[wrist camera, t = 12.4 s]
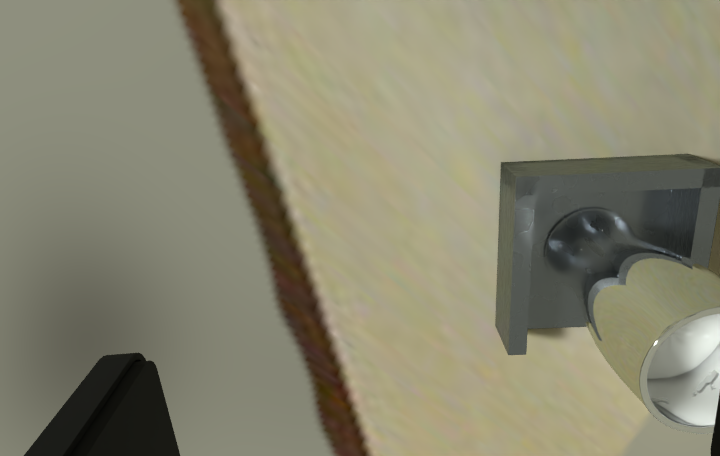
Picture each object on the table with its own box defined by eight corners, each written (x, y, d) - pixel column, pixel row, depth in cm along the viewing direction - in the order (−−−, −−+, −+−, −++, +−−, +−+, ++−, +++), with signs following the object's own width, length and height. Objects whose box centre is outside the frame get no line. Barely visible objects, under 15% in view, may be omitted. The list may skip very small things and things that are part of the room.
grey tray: (501, 162, 37) (516, 177, 34) (688, 154, 37) (725, 167, 33) (495, 325, 41) (508, 355, 38) (664, 319, 41) (694, 348, 37)
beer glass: (660, 231, 38) (832, 348, 24) (597, 310, 40) (722, 460, 26) (578, 183, 37) (708, 274, 23) (518, 266, 39) (603, 397, 25)
